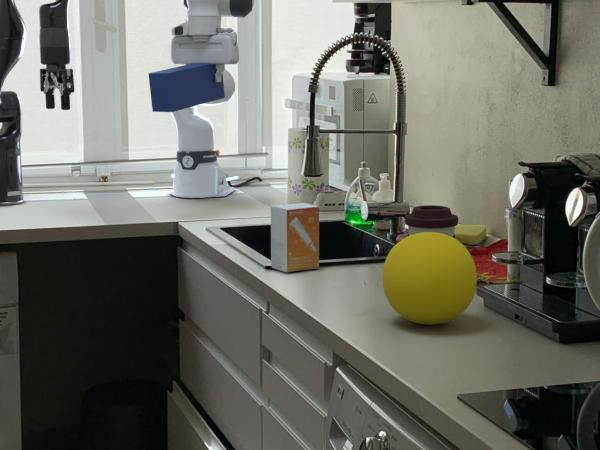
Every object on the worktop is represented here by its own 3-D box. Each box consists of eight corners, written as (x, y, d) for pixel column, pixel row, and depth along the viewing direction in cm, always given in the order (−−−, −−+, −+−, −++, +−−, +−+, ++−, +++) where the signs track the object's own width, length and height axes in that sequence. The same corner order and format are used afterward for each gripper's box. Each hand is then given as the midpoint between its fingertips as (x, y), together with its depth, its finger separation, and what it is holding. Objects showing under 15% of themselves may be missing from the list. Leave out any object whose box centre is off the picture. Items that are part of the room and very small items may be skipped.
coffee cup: (400, 280, 202) (400, 204, 200) (450, 279, 203) (451, 203, 201) (409, 292, 193) (410, 212, 190) (462, 291, 193) (463, 211, 191)
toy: (446, 307, 181) (447, 222, 179) (492, 329, 167) (494, 237, 165) (367, 316, 176) (367, 228, 174) (408, 339, 162) (408, 244, 160)
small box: (287, 273, 210) (286, 209, 208) (270, 268, 216) (269, 205, 213) (320, 268, 215) (319, 205, 213) (303, 263, 220) (302, 202, 218)
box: (171, 112, 261) (167, 73, 258) (152, 111, 264) (148, 73, 261) (224, 97, 279) (221, 61, 276) (206, 97, 282) (202, 61, 279)
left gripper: (81, 45, 264) (84, 109, 267) (55, 45, 275) (58, 107, 277) (54, 45, 259) (57, 111, 262) (29, 46, 270) (32, 109, 273)
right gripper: (243, 28, 271) (244, 81, 273) (181, 29, 282) (182, 81, 284) (229, 27, 266) (230, 82, 268) (166, 29, 276) (168, 81, 279)
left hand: (58, 109), depth 270 cm, fingers open, 8 cm apart
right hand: (205, 81), depth 276 cm, fingers closed on box, 6 cm apart
